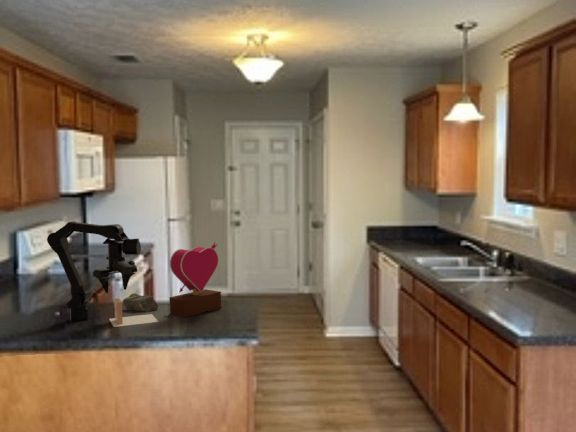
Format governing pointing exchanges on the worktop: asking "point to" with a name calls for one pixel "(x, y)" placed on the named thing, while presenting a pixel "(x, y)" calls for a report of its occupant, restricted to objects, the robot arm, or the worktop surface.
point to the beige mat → (134, 320)
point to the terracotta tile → (118, 311)
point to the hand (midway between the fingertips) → (116, 291)
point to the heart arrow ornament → (194, 281)
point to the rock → (140, 303)
